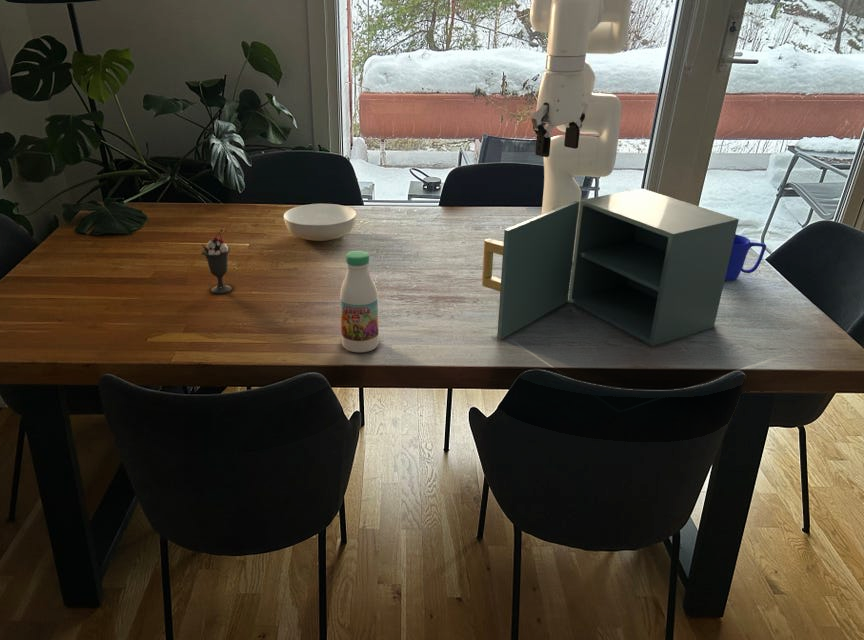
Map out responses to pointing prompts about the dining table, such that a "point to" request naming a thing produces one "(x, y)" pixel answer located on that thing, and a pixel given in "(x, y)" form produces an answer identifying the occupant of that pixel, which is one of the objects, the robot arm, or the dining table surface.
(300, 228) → the serving bowl
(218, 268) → the sundae
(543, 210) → the robot arm
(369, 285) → the milk bottle
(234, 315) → the dining table surface
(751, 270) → the mug
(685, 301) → the cabinet
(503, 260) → the cabinet door
